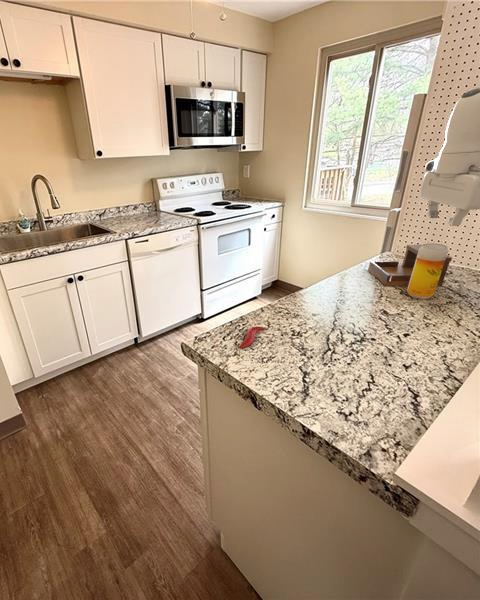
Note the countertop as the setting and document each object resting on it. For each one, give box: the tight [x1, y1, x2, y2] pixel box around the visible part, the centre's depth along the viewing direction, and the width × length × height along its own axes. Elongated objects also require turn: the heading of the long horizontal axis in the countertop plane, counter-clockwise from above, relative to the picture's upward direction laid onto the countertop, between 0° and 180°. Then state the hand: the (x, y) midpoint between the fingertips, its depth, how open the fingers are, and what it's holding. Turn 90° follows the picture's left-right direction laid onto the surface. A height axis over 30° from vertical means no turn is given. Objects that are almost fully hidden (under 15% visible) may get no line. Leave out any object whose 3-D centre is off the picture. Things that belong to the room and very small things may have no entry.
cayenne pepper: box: [237, 326, 265, 349], centre depth 79 cm, size 12×5×2 cm, turn 125°
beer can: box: [406, 242, 449, 300], centre depth 88 cm, size 6×6×15 cm
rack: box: [367, 244, 453, 287], centre depth 101 cm, size 15×14×9 cm
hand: (442, 221), depth 82 cm, fingers open, 8 cm apart
